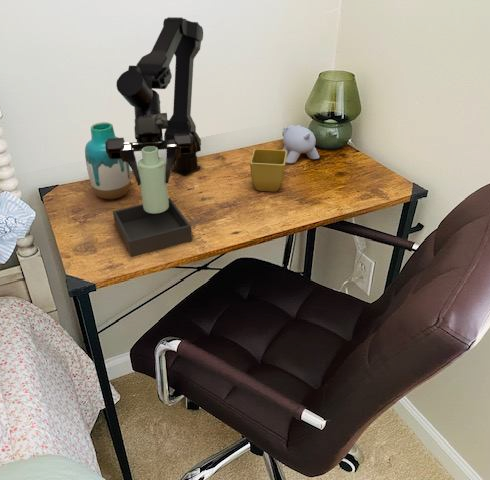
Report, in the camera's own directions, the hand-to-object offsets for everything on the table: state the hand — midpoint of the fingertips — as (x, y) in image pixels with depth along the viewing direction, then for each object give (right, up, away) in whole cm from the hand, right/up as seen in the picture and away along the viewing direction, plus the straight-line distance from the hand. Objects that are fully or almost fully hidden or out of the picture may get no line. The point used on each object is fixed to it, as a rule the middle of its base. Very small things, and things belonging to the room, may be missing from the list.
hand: (153, 183), depth 105 cm
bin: (-1, -10, +8) cm, 13 cm away
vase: (-13, 0, +24) cm, 28 cm away
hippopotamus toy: (+38, +13, +41) cm, 58 cm away
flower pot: (+28, +2, +25) cm, 37 cm away
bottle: (0, -5, +5) cm, 7 cm away
